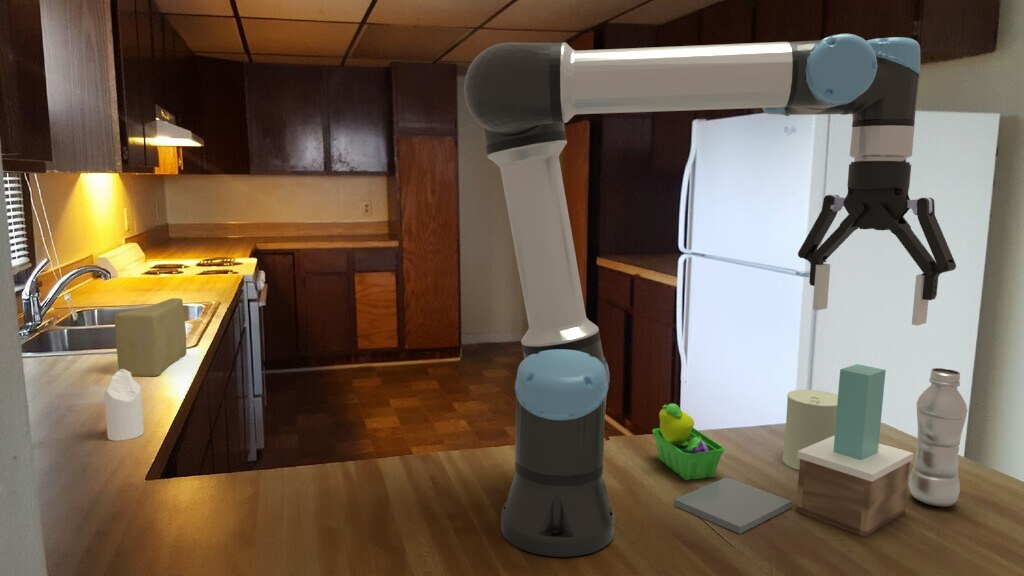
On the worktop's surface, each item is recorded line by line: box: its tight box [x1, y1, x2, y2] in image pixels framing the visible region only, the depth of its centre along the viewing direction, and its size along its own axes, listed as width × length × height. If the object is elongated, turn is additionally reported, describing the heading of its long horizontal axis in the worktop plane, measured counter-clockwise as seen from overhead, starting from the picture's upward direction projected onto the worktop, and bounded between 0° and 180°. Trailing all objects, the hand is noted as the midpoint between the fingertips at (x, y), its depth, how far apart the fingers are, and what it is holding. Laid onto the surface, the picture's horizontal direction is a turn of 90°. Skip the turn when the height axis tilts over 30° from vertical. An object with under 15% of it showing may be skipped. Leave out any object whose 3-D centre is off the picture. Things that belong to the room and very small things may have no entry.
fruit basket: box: [651, 403, 725, 481], centre depth 122 cm, size 11×9×11 cm
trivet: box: [673, 476, 793, 535], centre depth 109 cm, size 13×11×1 cm
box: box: [795, 459, 911, 538], centre depth 107 cm, size 12×10×8 cm
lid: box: [797, 363, 915, 482], centre depth 105 cm, size 13×11×14 cm
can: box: [781, 389, 838, 471], centre depth 125 cm, size 9×9×12 cm
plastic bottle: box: [908, 367, 968, 508], centre depth 110 cm, size 6×7×20 cm
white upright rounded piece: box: [103, 369, 145, 442], centre depth 133 cm, size 6×12×6 cm
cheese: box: [114, 297, 187, 378], centre depth 181 cm, size 22×10×15 cm, turn 177°
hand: (866, 316), depth 103 cm, fingers open, 13 cm apart
